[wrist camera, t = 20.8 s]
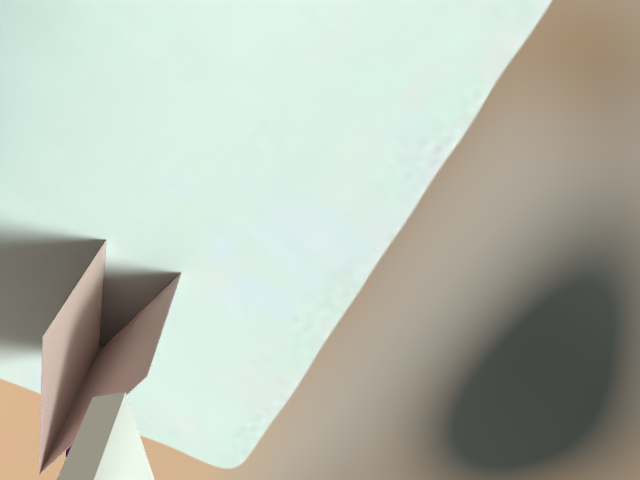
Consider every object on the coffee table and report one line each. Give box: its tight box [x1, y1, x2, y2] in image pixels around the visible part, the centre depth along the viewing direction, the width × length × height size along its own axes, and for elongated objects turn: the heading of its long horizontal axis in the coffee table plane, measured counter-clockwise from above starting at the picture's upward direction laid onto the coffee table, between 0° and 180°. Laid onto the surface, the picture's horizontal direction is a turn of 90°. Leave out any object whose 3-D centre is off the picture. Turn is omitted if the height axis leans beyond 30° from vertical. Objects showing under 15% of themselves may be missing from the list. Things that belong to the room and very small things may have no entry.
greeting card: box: [39, 240, 181, 475], centre depth 47 cm, size 11×7×15 cm, turn 134°
